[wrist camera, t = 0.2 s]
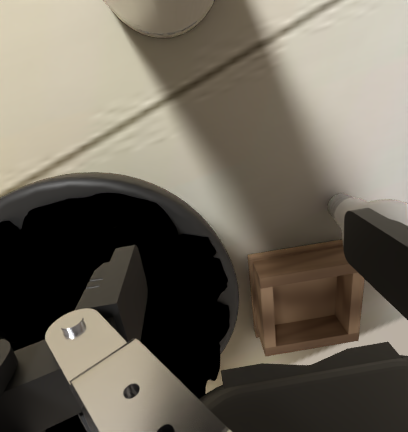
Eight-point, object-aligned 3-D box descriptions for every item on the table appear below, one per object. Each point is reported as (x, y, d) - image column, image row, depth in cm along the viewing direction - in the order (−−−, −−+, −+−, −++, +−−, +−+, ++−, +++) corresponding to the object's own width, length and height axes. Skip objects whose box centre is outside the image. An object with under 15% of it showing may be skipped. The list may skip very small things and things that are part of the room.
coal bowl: (49, 330, 34) (-83, 580, 17) (-12, 154, 26) (-388, 291, 9) (223, 312, 35) (269, 531, 18) (217, 138, 27) (288, 231, 10)
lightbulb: (335, 161, 29) (420, 201, 19) (377, 193, 30) (476, 246, 20) (294, 210, 30) (351, 272, 20) (336, 238, 32) (408, 308, 22)
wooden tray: (247, 254, 32) (256, 276, 28) (347, 238, 32) (369, 257, 29) (254, 331, 36) (263, 358, 33) (342, 316, 37) (360, 342, 33)
